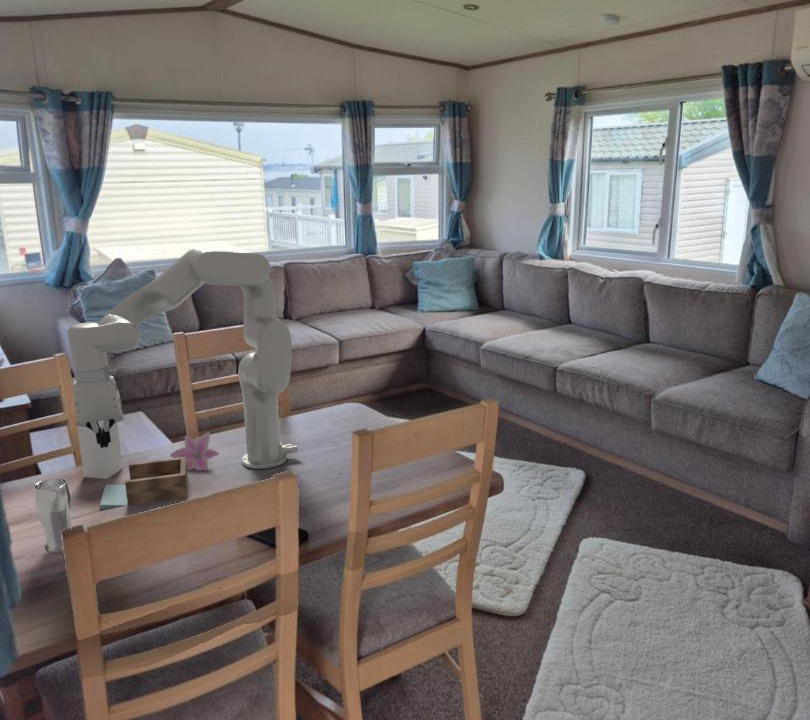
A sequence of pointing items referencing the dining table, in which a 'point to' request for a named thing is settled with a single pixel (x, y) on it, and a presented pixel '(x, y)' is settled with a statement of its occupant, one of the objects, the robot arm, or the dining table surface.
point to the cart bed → (157, 481)
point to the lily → (196, 452)
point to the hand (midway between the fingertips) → (104, 445)
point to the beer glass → (53, 510)
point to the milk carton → (99, 453)
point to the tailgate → (113, 496)
